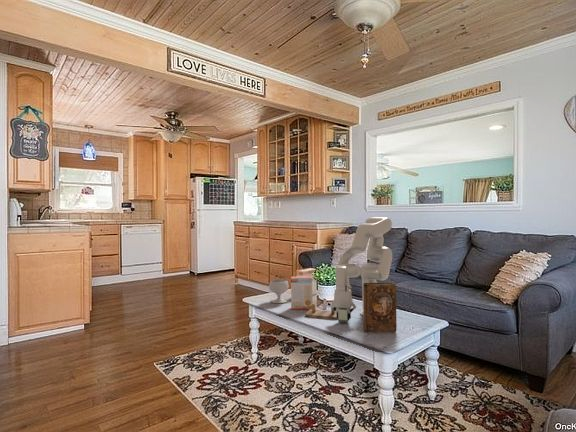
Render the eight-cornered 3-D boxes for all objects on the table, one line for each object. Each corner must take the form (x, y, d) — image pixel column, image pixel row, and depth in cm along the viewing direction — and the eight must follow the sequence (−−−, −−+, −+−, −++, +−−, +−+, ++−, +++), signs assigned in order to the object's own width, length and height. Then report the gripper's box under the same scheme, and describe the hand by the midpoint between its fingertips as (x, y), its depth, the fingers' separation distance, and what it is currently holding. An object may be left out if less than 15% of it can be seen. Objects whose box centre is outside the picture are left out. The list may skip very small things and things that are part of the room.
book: (365, 333, 183) (364, 285, 182) (362, 329, 188) (362, 283, 188) (396, 332, 183) (396, 284, 183) (393, 328, 189) (392, 282, 188)
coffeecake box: (310, 292, 276) (310, 267, 275) (317, 294, 270) (316, 268, 270) (296, 295, 266) (296, 270, 266) (302, 297, 260) (302, 271, 260)
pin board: (341, 314, 217) (341, 303, 217) (337, 319, 205) (337, 308, 205) (310, 311, 223) (310, 301, 223) (304, 316, 212) (304, 306, 212)
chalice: (282, 305, 239) (282, 283, 239) (265, 302, 246) (265, 281, 246) (292, 300, 251) (292, 279, 251) (275, 298, 258) (275, 278, 258)
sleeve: (349, 319, 202) (348, 307, 201) (347, 322, 197) (347, 310, 196) (340, 318, 203) (339, 306, 203) (338, 321, 198) (337, 309, 198)
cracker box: (313, 307, 233) (312, 276, 233) (312, 310, 227) (312, 277, 227) (291, 307, 234) (291, 275, 234) (291, 309, 228) (290, 277, 228)
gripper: (358, 286, 200) (359, 318, 201) (329, 285, 206) (330, 316, 206) (356, 290, 193) (357, 322, 193) (326, 288, 199) (327, 320, 199)
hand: (343, 319), depth 200 cm, fingers closed on sleeve, 5 cm apart
